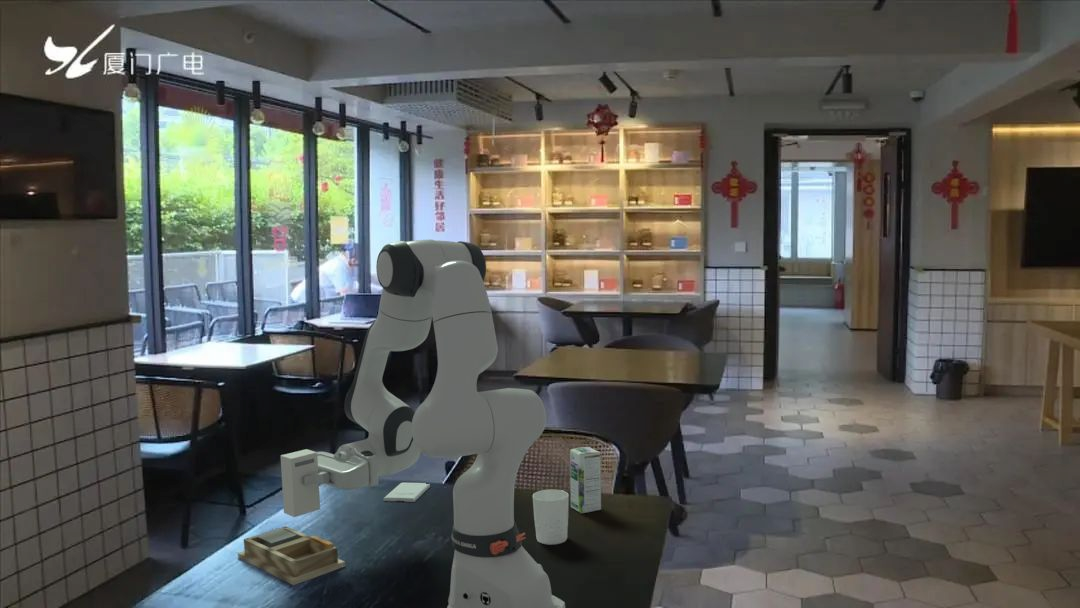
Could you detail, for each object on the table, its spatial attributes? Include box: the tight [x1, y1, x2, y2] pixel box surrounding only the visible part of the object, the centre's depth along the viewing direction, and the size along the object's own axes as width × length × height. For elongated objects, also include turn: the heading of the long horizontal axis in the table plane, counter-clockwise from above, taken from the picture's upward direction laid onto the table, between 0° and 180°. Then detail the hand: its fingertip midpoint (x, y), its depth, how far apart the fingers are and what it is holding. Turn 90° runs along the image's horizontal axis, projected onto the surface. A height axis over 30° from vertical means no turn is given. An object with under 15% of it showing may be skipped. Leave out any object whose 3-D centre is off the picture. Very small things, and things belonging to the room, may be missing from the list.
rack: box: [237, 526, 346, 586], centre depth 181 cm, size 22×12×5 cm, turn 47°
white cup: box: [532, 489, 570, 546], centre depth 189 cm, size 8×8×10 cm
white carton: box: [279, 448, 321, 518], centre depth 176 cm, size 4×6×12 cm
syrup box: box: [569, 446, 602, 514], centre depth 208 cm, size 6×6×14 cm
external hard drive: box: [383, 482, 431, 503], centre depth 225 cm, size 2×8×12 cm
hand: (296, 478), depth 175 cm, fingers closed on white carton, 4 cm apart
